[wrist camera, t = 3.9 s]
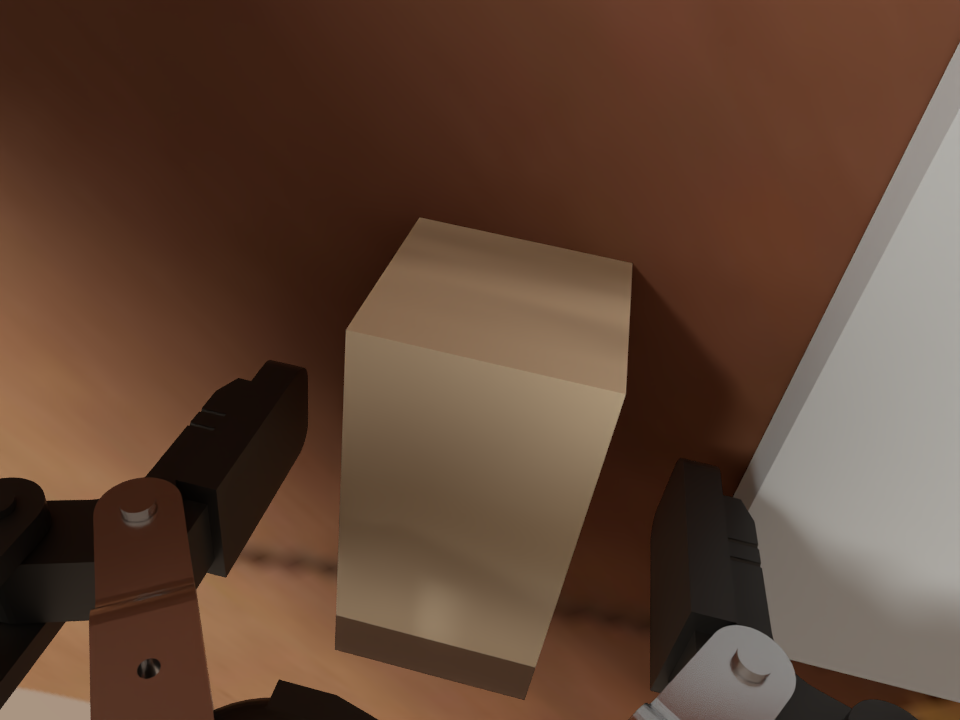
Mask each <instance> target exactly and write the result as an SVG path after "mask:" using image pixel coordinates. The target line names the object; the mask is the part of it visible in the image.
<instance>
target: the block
mask: <svg viewBox="0 0 960 720" xmlns="http://www.w3.org/2000/svg"><path fill="white" fill-rule="evenodd" d="M632 264H633V263H629V262H624V261H620V260H615V259H611V258H606V257H601V256H597V255H592V254H587V253H583V252H578V251H573V250H569V249H564V248H560V247H555V246H550V245H546V244H541V243H536V242H532V241H527V240H522V239H518V238H513V237H508V236H504V235H499V234H495V233H490V232H485V231H481V230H476V229H471V228H467V227H462V226H457V225H453V224H448V223H444V222H439V221H434V220H430V219H425V218H420V217H419V219H418V220H417V222H416V224H415V225H414V227H413V228H412V230H411V231H410V233H409V234H408V236H407V237H406V239H405V240H404V242H403V243H402V245H401V246H400V248H399V249H398V251H397V253H396V254H395V256H394V257H393V259H392V260H391V262H390V263H389V265H388V266H387V268H386V269H385V271H384V272H383V274H382V275H381V277H380V278H379V280H378V282H377V283H376V285H375V286H374V288H373V289H372V291H371V292H370V294H369V295H368V297H367V298H366V300H365V301H364V303H363V304H362V306H361V307H360V309H359V311H358V312H357V314H356V315H355V317H354V318H353V320H352V321H351V323H350V324H349V326H348V327H347V329H346V341H345V371H344V400H343V429H342V458H341V487H340V516H339V545H338V574H337V603H336V633H335V650H339V651H342V652H346V653H350V654H354V655H357V656H361V657H365V658H369V659H372V660H376V661H380V662H384V663H387V664H391V665H395V666H399V667H402V668H406V669H410V670H414V671H417V672H421V673H425V674H428V675H432V676H436V677H440V678H443V679H447V680H451V681H455V682H458V683H462V684H466V685H470V686H473V687H477V688H481V689H485V690H488V691H492V692H496V693H500V694H503V695H507V696H511V697H515V698H518V699H522V700H525V697H526V694H527V691H528V688H529V685H530V682H531V679H532V676H533V673H534V670H535V667H536V664H537V661H538V658H539V655H540V652H541V649H542V646H543V643H544V640H545V637H546V634H547V631H548V628H549V625H550V622H551V619H552V616H553V613H554V610H555V607H556V604H557V601H558V598H559V595H560V592H561V589H562V585H563V582H564V579H565V576H566V573H567V570H568V567H569V564H570V561H571V558H572V555H573V552H574V549H575V546H576V543H577V540H578V537H579V534H580V531H581V528H582V525H583V522H584V519H585V516H586V513H587V510H588V507H589V504H590V501H591V498H592V495H593V492H594V489H595V486H596V483H597V480H598V477H599V474H600V471H601V468H602V465H603V462H604V459H605V456H606V453H607V450H608V447H609V444H610V441H611V438H612V435H613V432H614V429H615V426H616V423H617V420H618V417H619V414H620V411H621V408H622V405H623V402H624V399H625V396H626V383H627V363H628V343H629V324H630V304H631V284H632Z"/></svg>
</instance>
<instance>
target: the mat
mask: <svg viewBox="0 0 960 720" xmlns="http://www.w3.org/2000/svg"><path fill="white" fill-rule="evenodd" d="M733 498H738V499H741V500H742V502H743V504H744V505H745V507H746V508H747V510H748V512H749V513H750V515H751V517H752V518H753V520H754V521H755V527H756V533H757V539H758V549H759V552H760V559H761V565H760V568H762V572H763V578H764V584H765V591H766V597H767V604H768V610H769V617H770V623H771V629H772V635H773V639H774V641H775V642H776V643H777V644H778V645H779V646H780V647H781V648H782V649H783V650H784V652H785V653H786V655H787V656H788V657H789V659H790V660H794V661H798V662H802V663H805V664H809V665H813V666H817V667H821V668H825V669H829V670H833V671H837V672H841V673H845V674H849V675H853V676H857V677H861V678H864V679H868V680H872V681H876V682H880V683H884V684H888V685H892V686H896V687H900V688H904V689H908V690H912V691H916V692H920V693H923V694H927V695H931V696H935V697H939V698H943V699H947V700H951V701H955V702H959V703H960V43H959V45H958V47H957V49H956V51H955V53H954V55H953V57H952V59H951V61H950V63H949V65H948V67H947V69H946V71H945V73H944V75H943V77H942V79H941V81H940V83H939V85H938V87H937V89H936V91H935V93H934V95H933V97H932V99H931V101H930V103H929V105H928V107H927V109H926V111H925V113H924V115H923V117H922V119H921V121H920V123H919V125H918V127H917V129H916V131H915V133H914V135H913V137H912V139H911V141H910V143H909V145H908V147H907V149H906V151H905V153H904V155H903V157H902V159H901V161H900V163H899V165H898V167H897V169H896V171H895V173H894V175H893V177H892V179H891V181H890V183H889V185H888V187H887V189H886V191H885V193H884V195H883V197H882V199H881V201H880V203H879V205H878V207H877V209H876V211H875V213H874V215H873V217H872V219H871V221H870V223H869V225H868V227H867V229H866V231H865V233H864V235H863V237H862V239H861V241H860V243H859V245H858V247H857V249H856V251H855V253H854V255H853V257H852V259H851V261H850V263H849V265H848V267H847V269H846V271H845V273H844V275H843V277H842V279H841V281H840V283H839V285H838V287H837V289H836V291H835V293H834V295H833V297H832V299H831V301H830V303H829V305H828V307H827V309H826V311H825V313H824V315H823V317H822V319H821V321H820V323H819V325H818V327H817V329H816V332H815V334H814V336H813V338H812V340H811V342H810V344H809V346H808V348H807V350H806V352H805V354H804V356H803V358H802V360H801V362H800V364H799V366H798V368H797V370H796V372H795V374H794V376H793V378H792V380H791V382H790V384H789V386H788V388H787V390H786V392H785V394H784V396H783V398H782V400H781V402H780V404H779V406H778V408H777V410H776V412H775V414H774V416H773V418H772V420H771V422H770V424H769V426H768V428H767V430H766V432H765V434H764V436H763V438H762V440H761V442H760V444H759V446H758V448H757V450H756V452H755V454H754V456H753V458H752V460H751V462H750V464H749V466H748V468H747V470H746V472H745V474H744V476H743V478H742V480H741V482H740V484H739V486H738V488H737V490H736V492H735V494H734V496H733Z"/></svg>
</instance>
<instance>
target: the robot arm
mask: <svg viewBox="0 0 960 720" xmlns="http://www.w3.org/2000/svg"><path fill="white" fill-rule="evenodd" d="M307 427H308V375H307V371H306V369H305V368H302V367H298V366H294V365H289V364H285V363H281V362H277V361H272V360H269V361H267V362H266V363H265V364H264V365H263V367H262V368H261V369H260V370H259V372H258V373H257V374H256V376H255V377H254V378H253V380H252V381H248V380H244V379H240V378H238V379H236V380H234V381H232V382H231V383H229V384H227V385H226V386H224V387H222V388H220V389H219V390H217V391H216V392H215V393H214V394H213V395H212V397H211V398H210V399H209V400H208V401H207V403H206V404H205V405H204V406H203V407H202V411H201V412H198V414H197V415H196V416H195V417H194V418H193V420H192V421H191V423H190V426H187V427H186V428H185V429H184V431H183V432H182V433H181V434H180V435H179V437H178V438H177V439H176V440H175V442H174V443H173V444H172V445H171V446H170V448H169V449H168V450H167V451H166V452H165V454H164V455H163V456H162V457H161V459H160V460H159V461H158V462H157V463H156V465H155V466H154V467H153V468H152V469H151V471H150V472H149V473H148V474H147V475H146V477H144V478H136V479H132V480H128V481H125V482H122V483H120V484H118V485H116V486H114V487H113V488H111V489H110V490H108V491H107V492H106V493H105V494H104V495H103V496H102V497H101V498H100V499H95V500H60V501H46V498H45V495H44V492H43V490H42V489H41V487H40V486H39V485H38V484H36V483H34V482H33V481H30V480H27V479H23V478H1V479H0V709H1V708H2V706H3V705H4V703H5V702H6V701H7V700H8V698H9V697H10V696H11V694H12V693H13V692H14V690H15V689H16V688H17V686H18V685H19V684H20V682H21V681H22V680H23V678H24V677H25V676H26V674H27V673H28V672H29V670H30V669H31V667H32V666H33V665H34V663H35V662H36V661H37V659H38V658H39V657H40V655H41V654H42V653H43V651H44V650H45V649H46V647H47V646H48V645H49V643H50V642H51V641H52V639H53V638H54V637H55V635H56V634H57V633H58V631H59V630H60V629H61V627H62V626H63V625H64V623H65V622H66V621H85V620H89V645H90V705H91V720H378V719H376V718H374V717H373V716H371V715H369V714H368V713H366V712H364V711H362V710H361V709H359V708H357V707H356V706H354V705H352V704H351V703H349V702H347V701H346V700H344V699H342V698H340V697H339V696H337V695H334V694H330V693H326V692H323V691H319V690H315V689H312V688H308V687H304V686H301V685H297V684H293V683H290V682H286V681H282V680H279V681H278V683H277V685H276V687H275V689H274V691H273V694H272V696H271V698H257V699H249V700H244V701H240V702H236V703H232V704H229V705H226V706H223V707H221V708H218V709H215V710H214V708H213V701H212V695H211V688H210V681H209V674H208V668H207V661H206V654H205V647H204V640H203V634H202V627H201V620H200V613H199V606H198V599H197V593H196V589H197V587H198V586H199V584H200V583H201V581H202V579H203V578H204V576H205V575H206V573H210V574H214V575H218V576H222V577H227V575H228V573H229V572H230V570H231V568H232V567H233V565H234V563H235V562H236V560H237V558H238V557H239V555H240V553H241V551H242V550H243V548H244V546H245V545H246V543H247V541H248V540H249V538H250V536H251V535H252V533H253V531H254V530H255V528H256V526H257V525H258V523H259V521H260V520H261V518H262V516H263V514H264V513H265V511H266V509H267V508H268V506H269V504H270V503H271V501H272V499H273V498H274V496H275V494H276V493H277V491H278V489H279V488H280V486H281V484H282V483H283V481H284V479H285V477H286V476H287V474H288V472H289V471H290V469H291V467H292V466H293V464H294V462H295V461H296V459H297V457H298V456H299V454H300V452H301V450H302V447H303V445H304V442H305V438H306V434H307ZM760 565H761V559H760V552H759V549H758V539H757V533H756V527H755V521H754V520H753V518H752V517H751V515H750V513H749V512H748V510H747V508H746V507H745V505H744V504H743V502H742V500H741V499H738V498H733V497H729V496H725V495H723V491H722V482H721V473H720V469H719V467H717V466H713V465H709V464H705V463H700V462H696V461H692V460H688V459H683V458H680V459H679V460H678V461H677V463H676V465H675V467H674V469H673V472H672V474H671V477H670V479H669V481H668V484H667V486H666V489H665V491H664V494H663V496H662V498H661V501H660V503H659V506H658V508H657V511H656V514H655V517H654V521H653V526H652V532H651V580H650V690H651V691H654V692H658V693H660V694H659V695H658V696H657V698H656V699H655V700H654V701H653V702H652V703H651V704H648V703H645V704H644V705H642V706H641V707H640V708H639V709H638V710H637V711H636V712H635V713H634V714H633V715H632V716H631V717H630V718H629V719H628V720H917V719H916V718H915V717H914V716H912V715H911V714H910V713H908V712H907V711H905V710H904V709H902V708H900V707H898V706H896V705H894V704H892V703H889V702H886V701H881V700H864V701H862V702H859V703H858V704H856V705H855V706H854V707H853V708H850V707H848V706H846V705H844V704H843V703H841V702H839V701H837V700H835V699H833V698H832V697H830V696H828V695H826V694H824V693H823V692H821V691H819V690H817V689H816V688H814V687H812V686H811V685H809V684H808V683H806V682H805V681H804V680H802V679H801V678H800V677H799V676H798V675H796V674H795V671H794V668H793V665H792V663H791V661H790V659H789V657H788V656H787V655H786V653H785V652H784V650H783V649H782V648H781V647H780V646H779V645H778V644H777V643H776V642H775V641H774V639H773V635H772V629H771V623H770V617H769V610H768V604H767V597H766V591H765V584H764V578H763V572H762V568H760Z"/></svg>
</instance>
